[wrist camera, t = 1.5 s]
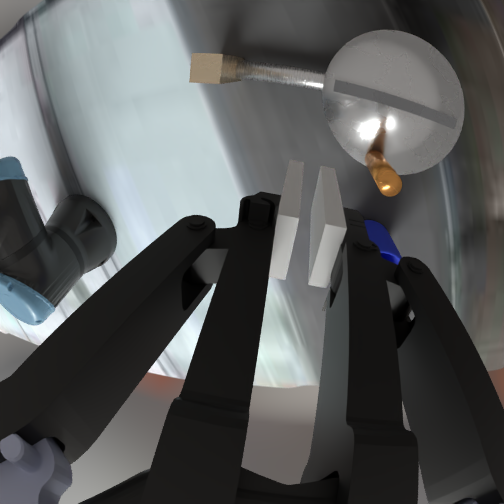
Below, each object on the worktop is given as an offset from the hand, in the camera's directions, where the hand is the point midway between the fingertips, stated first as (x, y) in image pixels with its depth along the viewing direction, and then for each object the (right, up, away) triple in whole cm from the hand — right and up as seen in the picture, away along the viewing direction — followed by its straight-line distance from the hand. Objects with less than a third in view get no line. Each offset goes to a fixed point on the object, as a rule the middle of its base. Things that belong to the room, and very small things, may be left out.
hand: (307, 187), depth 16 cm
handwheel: (+11, +11, +8) cm, 18 cm away
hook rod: (+5, +18, +17) cm, 25 cm away
